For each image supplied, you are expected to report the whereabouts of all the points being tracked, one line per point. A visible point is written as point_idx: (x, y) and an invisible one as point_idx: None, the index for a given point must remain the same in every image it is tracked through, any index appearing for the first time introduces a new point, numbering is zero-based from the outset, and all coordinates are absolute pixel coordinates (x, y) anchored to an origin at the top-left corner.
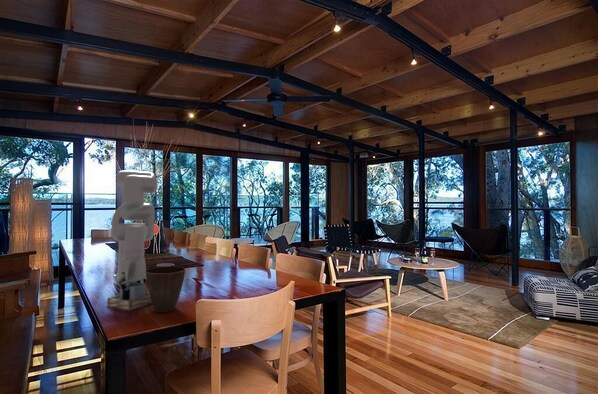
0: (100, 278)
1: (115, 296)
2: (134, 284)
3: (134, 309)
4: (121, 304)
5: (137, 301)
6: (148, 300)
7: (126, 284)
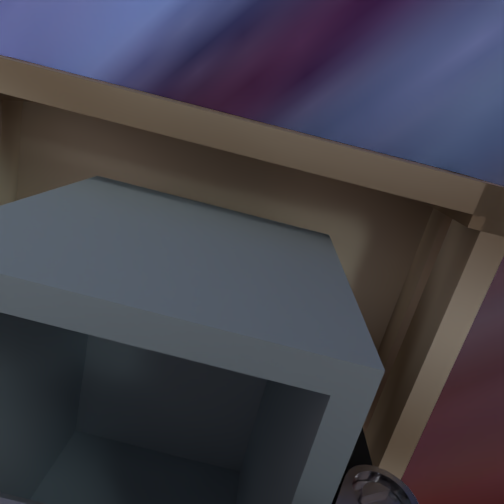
0: None
1: (57, 104)
2: (290, 450)
3: None
4: None
5: None
6: None
7: (122, 326)
